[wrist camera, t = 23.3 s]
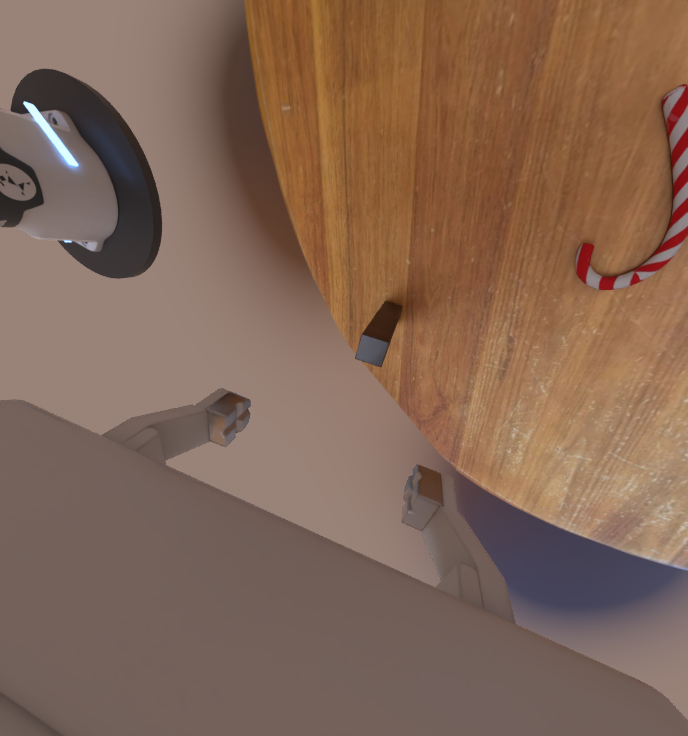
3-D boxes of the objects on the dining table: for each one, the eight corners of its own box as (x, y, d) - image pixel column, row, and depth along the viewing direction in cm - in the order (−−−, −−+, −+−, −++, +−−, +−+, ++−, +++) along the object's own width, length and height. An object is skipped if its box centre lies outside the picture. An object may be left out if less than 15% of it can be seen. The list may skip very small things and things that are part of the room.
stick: (379, 318, 34) (354, 358, 22) (385, 301, 33) (361, 333, 21) (396, 323, 34) (381, 367, 21) (402, 306, 32) (389, 342, 20)
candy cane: (750, 62, 18) (677, 283, 23) (730, 73, 19) (665, 282, 24) (607, 105, 20) (573, 295, 26) (597, 112, 21) (567, 293, 27)
